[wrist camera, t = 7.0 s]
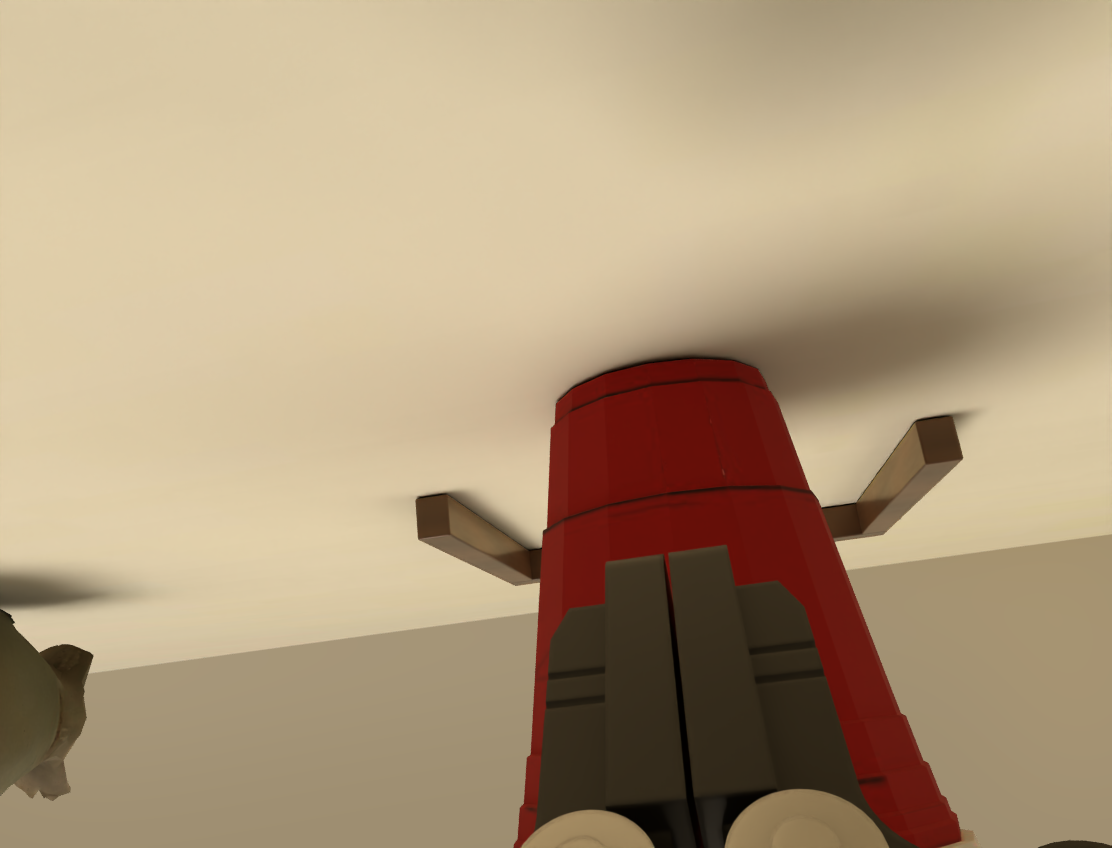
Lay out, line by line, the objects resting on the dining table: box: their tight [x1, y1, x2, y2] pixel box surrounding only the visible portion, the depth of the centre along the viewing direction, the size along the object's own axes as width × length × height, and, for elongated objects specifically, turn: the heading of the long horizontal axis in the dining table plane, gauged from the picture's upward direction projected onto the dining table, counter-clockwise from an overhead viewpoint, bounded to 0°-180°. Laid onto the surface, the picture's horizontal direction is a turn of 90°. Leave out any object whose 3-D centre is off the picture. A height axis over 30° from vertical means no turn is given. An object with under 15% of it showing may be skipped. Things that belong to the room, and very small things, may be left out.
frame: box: [416, 416, 963, 586], centre depth 37 cm, size 15×18×2 cm
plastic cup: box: [514, 359, 982, 848], centre depth 22 cm, size 11×11×12 cm
